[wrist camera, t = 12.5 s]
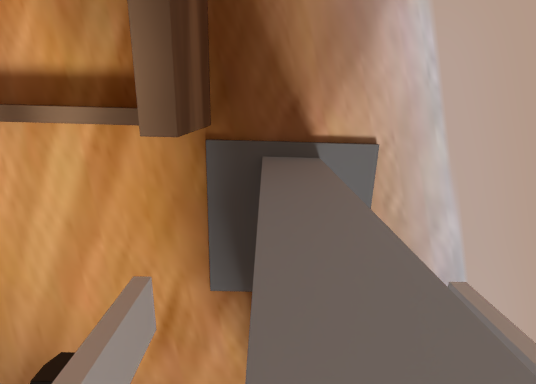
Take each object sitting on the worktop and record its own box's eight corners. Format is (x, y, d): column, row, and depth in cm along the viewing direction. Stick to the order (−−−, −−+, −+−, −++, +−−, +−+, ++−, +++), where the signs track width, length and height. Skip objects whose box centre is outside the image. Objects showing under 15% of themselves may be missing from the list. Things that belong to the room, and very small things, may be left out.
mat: (211, 287, 24) (210, 290, 24) (206, 139, 21) (205, 139, 20) (357, 290, 24) (359, 293, 24) (377, 144, 21) (379, 144, 21)
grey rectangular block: (262, 156, 21) (243, 416, 3) (319, 157, 21) (581, 422, 4) (259, 281, 24) (241, 766, 6) (309, 282, 24) (428, 766, 6)
